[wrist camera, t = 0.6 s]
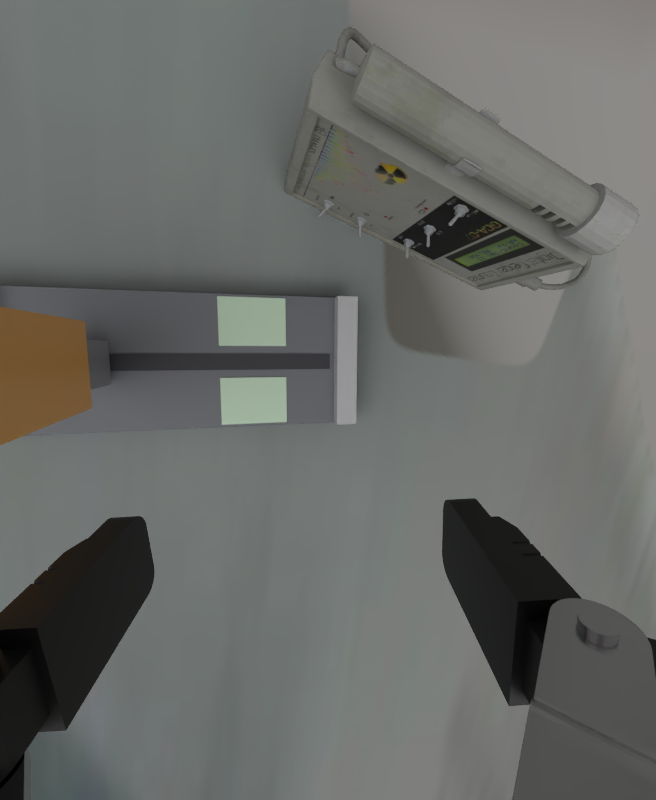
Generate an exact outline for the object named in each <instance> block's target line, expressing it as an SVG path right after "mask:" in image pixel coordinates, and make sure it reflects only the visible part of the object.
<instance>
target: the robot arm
mask: <svg viewBox="0 0 656 800" xmlns="http://www.w3.org/2000/svg"><path fill="white" fill-rule="evenodd" d="M442 556H443V563H444V568H445V572H446V575H447V577H448V580H449V582H450V584H451V586H452V588H453V590H454V592H455V594H456V596H457V598H458V600H459V603H460V605H461V607H462V609H463V611H464V613H465V615H466V617H467V619H468V621H469V623H470V626H471V628H472V630H473V632H474V634H475V636H476V638H477V640H478V642H479V644H480V646H481V649H482V651H483V653H484V655H485V657H486V659H487V661H488V663H489V665H490V667H491V669H492V672H493V674H494V676H495V678H496V680H497V682H498V684H499V686H500V688H501V690H502V692H503V695H504V697H505V699H506V701H507V703H508V705H509V706H515V705H530V707H529V712H528V717H527V723H526V728H525V733H524V739H523V744H522V750H521V755H520V760H519V766H518V771H517V776H516V782H515V787H514V793H513V798H512V800H656V640H654V639H650V638H647V637H646V636H645V634H644V633H643V632H642V631H641V630H640V628H639V627H638V626H637V625H635V624H634V623H633V622H632V621H631V620H629V619H628V618H627V617H625V616H624V615H622V614H621V613H619V612H617V611H615V610H614V609H611V608H609V607H607V606H605V605H602V604H600V603H597V602H594V601H590V600H585V599H582V598H581V597H580V596H579V595H578V594H577V593H576V592H575V590H574V589H573V588H572V587H571V586H570V585H569V584H568V583H567V582H566V581H565V580H564V578H563V577H562V576H561V575H560V574H559V573H558V572H557V571H556V570H555V569H554V567H553V566H552V565H551V564H550V563H549V562H548V561H547V560H546V559H545V558H544V556H541V554H540V552H539V551H538V550H537V549H536V548H535V547H534V545H533V544H530V541H529V540H528V539H527V538H526V537H525V536H524V535H523V533H522V532H521V531H520V530H519V529H518V528H517V527H515V526H514V525H512V524H510V523H509V522H507V521H505V520H504V519H502V518H500V517H499V516H498V517H491V516H490V515H489V514H488V513H487V512H486V510H485V509H484V508H483V507H482V506H481V504H480V503H479V502H478V501H477V500H476V499H474V498H472V499H454V500H446V501H445V503H444V507H443V541H442ZM153 580H154V564H153V559H152V553H151V548H150V542H149V537H148V532H147V526H146V523H145V520H144V519H143V518H142V517H140V516H136V517H118V518H110V519H108V520H107V521H106V522H105V523H103V524H102V525H101V526H100V527H99V528H98V529H97V530H96V531H95V532H94V533H93V534H92V535H91V536H90V537H89V538H88V539H85V540H84V541H82V542H80V543H79V544H77V545H76V546H74V547H72V548H71V549H69V550H67V551H66V552H64V553H63V554H62V555H61V556H60V557H59V558H58V559H57V560H56V561H55V562H54V563H53V564H52V565H51V566H50V567H48V571H44V572H43V573H42V574H41V575H40V576H39V577H38V578H37V579H36V580H35V582H34V584H30V585H29V586H28V587H27V588H26V589H25V590H24V591H23V592H22V593H21V594H20V595H19V596H18V597H17V598H16V599H14V600H13V601H12V602H11V603H10V604H9V605H8V606H7V607H6V608H5V609H4V610H3V611H2V612H1V613H0V800H31V755H30V752H29V749H28V747H29V745H30V744H31V742H32V741H33V739H34V738H35V736H36V735H37V733H38V732H47V731H63V730H67V728H68V726H69V725H70V723H71V721H72V720H73V718H74V716H75V715H76V713H77V711H78V710H79V708H80V706H81V705H82V703H83V702H84V700H85V698H86V697H87V695H88V693H89V692H90V690H91V688H92V687H93V685H94V683H95V682H96V680H97V678H98V677H99V675H100V674H101V672H102V670H103V669H104V667H105V665H106V664H107V662H108V660H109V659H110V657H111V655H112V654H113V652H114V650H115V649H116V647H117V646H118V644H119V642H120V641H121V639H122V637H123V636H124V634H125V632H126V631H127V629H128V627H129V626H130V624H131V622H132V621H133V619H134V618H135V616H136V614H137V613H138V611H139V609H140V608H141V606H142V604H143V603H144V601H145V599H146V598H147V596H148V594H149V593H150V590H151V588H152V584H153Z"/></svg>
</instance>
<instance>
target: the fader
mask: <svg viewBox="0 0 656 800" xmlns="http://www.w3.org/2000/svg"><path fill="white" fill-rule="evenodd" d="M110 384H111V373H110V360H109V347H108V341H104V340H88V339H86V329H85V321H80V320H75V319H69V318H63V317H57V316H52V315H46V314H40V313H34V312H29V311H23V310H17V309H12V308H6V307H0V445H2V444H4V443H7V442H9V441H12V440H14V439H17V438H19V437H22V436H24V435H27V434H29V433H32V432H34V431H37V430H39V429H42V428H44V427H47V426H49V425H52V424H54V423H57V422H59V421H62V420H64V419H66V418H69V417H71V416H74V415H76V414H79V413H81V412H84V411H86V410H89V409H91V408H92V399H91V390H92V389H95V388H99V387H103V386H106V385H110Z"/></svg>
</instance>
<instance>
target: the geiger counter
mask: <svg viewBox="0 0 656 800" xmlns="http://www.w3.org/2000/svg"><path fill="white" fill-rule="evenodd" d="M349 39H352V40H354V41H355V42H356V43H357V44H358V45H359V46H360V47H361V48H362V49H363V50H364V51H365V52H366V55H365V57H364V59H363V61H362V63H361V65H360V66H359V65H357V64H355V63H353V62H352V61H350V60H348V59H345V58H344V55H345V49H346V44H347V42H348V40H349ZM499 122H500V118H499V116H498V115H497V114H495V113H494V112H492V111H491V110H489V109H486V108H485V109H482V110H481V111H480V112H477V111H476V110H474V109H473V108H471V107H470V106H468V105H466V104H465V103H463V102H462V101H461V100H459V99H457V98H456V97H455V96H453V95H452V94H450V93H448V92H447V91H445V90H444V89H442V88H441V87H439V86H438V85H436V84H435V83H433V82H432V81H430V80H429V79H427V78H426V77H424V76H423V75H421V74H420V73H418V72H417V71H415V70H414V69H412V68H410V67H409V66H407V65H406V64H404V63H403V62H401V61H400V60H398V59H397V58H395V57H394V56H392V55H391V54H389V53H388V52H386V51H385V50H383V49H382V48H380V47H379V46H377V45H375V44H373V45H372V44H371V43H370V42H369V41H368V40H367V39H366V38H365V37H364V36H363V35H361V34H360V33H359V32H358V31H357V30H356V29H354V28H352V27H349V28H347V29H345V30H344V31H343V32H342V34H341V36H340V37H339V39H338V44H337V50H336V53H334V52H332V51H331V50H328V51H327V53H326V54H325V56H324V58H323V59H322V61H321V63H320V64H319V66H318V68H317V69H316V71H315V73H314V74H313V76H312V79H311V83H310V87H309V90H308V94H307V98H306V102H305V106H304V110H303V113H302V117H301V121H300V125H299V129H298V133H297V136H296V140H295V144H294V148H293V152H292V156H291V159H290V163H289V167H288V171H287V178H286V184H285V192H286V193H287V194H289V195H291V196H293V197H295V198H297V199H299V200H301V201H303V202H305V203H307V204H309V205H311V206H313V207H315V208H317V209H319V210H321V212H320V213H319V215H318V217H321V216H322V215H323V214H324V212H325V213H327V214H329V215H331V216H333V217H335V218H337V219H339V220H341V221H343V222H345V223H347V224H349V225H351V226H353V227H355V228H357V229H359V237H361V236H362V231H363V232H365V233H367V234H369V235H371V236H373V237H375V238H377V239H379V240H381V241H383V242H385V243H387V244H389V245H391V246H393V247H395V248H397V249H399V250H401V251H403V252H405V253H406V258H408V257H409V255H411V256H413V257H415V258H417V259H419V260H421V261H423V262H425V263H427V264H429V265H431V266H433V267H435V268H437V269H439V270H441V271H443V272H445V273H447V274H449V275H451V276H453V277H455V278H457V279H459V280H461V281H463V282H465V283H467V284H469V285H471V286H473V287H475V288H477V289H479V290H484V289H489V288H493V287H497V286H501V285H505V284H510V283H514V282H515V283H517V284H519V285H521V286H523V287H528V288H530V289H532V290H537V289H538V288H541V289H549V290H557V289H564V288H566V287H569V286H572V285H574V284H576V283H578V282H580V281H581V280H582V278H583V277H584V276H585V274H586V273H587V271H588V269H589V267H590V264H591V255H602V254H605V253H608V252H610V251H611V250H613V249H615V248H616V247H618V246H619V245H620V244H621V243H622V242H623V241H625V240H626V239H627V237H628V236H629V235H630V234H631V233H632V231H633V230H634V228H635V226H636V224H637V222H638V218H639V213H638V208H636V207H635V206H634V205H633V204H632V203H630V202H628V201H627V200H625V199H624V198H622V197H621V196H619V195H618V194H616V193H615V192H613V191H612V190H610V189H609V188H607V187H606V186H604V185H603V184H598V183H596V184H592V185H589V184H587V183H585V182H584V181H582V180H581V179H579V178H578V177H576V176H575V175H573V174H572V173H570V172H569V171H567V170H566V169H564V168H563V167H561V166H560V165H558V164H556V163H555V162H554V161H552V160H550V159H549V158H547V157H546V156H544V155H543V154H541V153H539V152H538V151H537V150H535V149H534V148H532V147H531V146H529V145H528V144H526V143H525V142H523V141H522V140H520V139H518V138H517V137H515V136H514V135H512V134H511V133H509V132H508V131H506V130H505V129H503V128H502V127H500V126H499V125H498V123H499ZM578 267H583V268H582V270H581V272H580V273H579V275H578V276H577V277H576V278H575V279H573V280H571V281H568V282H565V283H563V284H556V285H555V284H544V283H542V280H541V279H539V278H537V277H540V276H544V275H548V274H553V273H557V272H561V271H566V270H570V269H574V268H578Z"/></svg>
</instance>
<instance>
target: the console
mask: <svg viewBox="0 0 656 800" xmlns="http://www.w3.org/2000/svg"><path fill="white" fill-rule="evenodd" d="M0 307H6V308H12V309H17V310H23V311H29V312H34V313H40V314H46V315H52V316H57V317H63V318H69V319H75V320H80V321H85V329H86V339H88V340H104V341H108V347H109V360H110V373H111V384H110V385H106V386H103V387H99V388H95V389H92V390H91V399H92V408H91V409H89V410H86V411H84V412H81V413H79V414H76V415H74V416H71V417H69V418H66V419H64V420H62V421H59V422H57V423H54V424H52V425H49V426H47V427H44V428H42V429H39V430H37V431H34V432H32V433H29V434H27V435H49V434H73V433H96V432H119V431H142V430H166V429H189V428H212V427H235V426H258V425H282V424H305V423H328V422H334V423H336V424H337V425H341V424H356V397H357V327H358V297H353V296H337V297H335V298H330V297H302V296H275V295H247V294H219V293H192V292H164V291H137V290H109V289H81V288H54V287H26V286H0ZM24 436H26V435H24Z"/></svg>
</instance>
